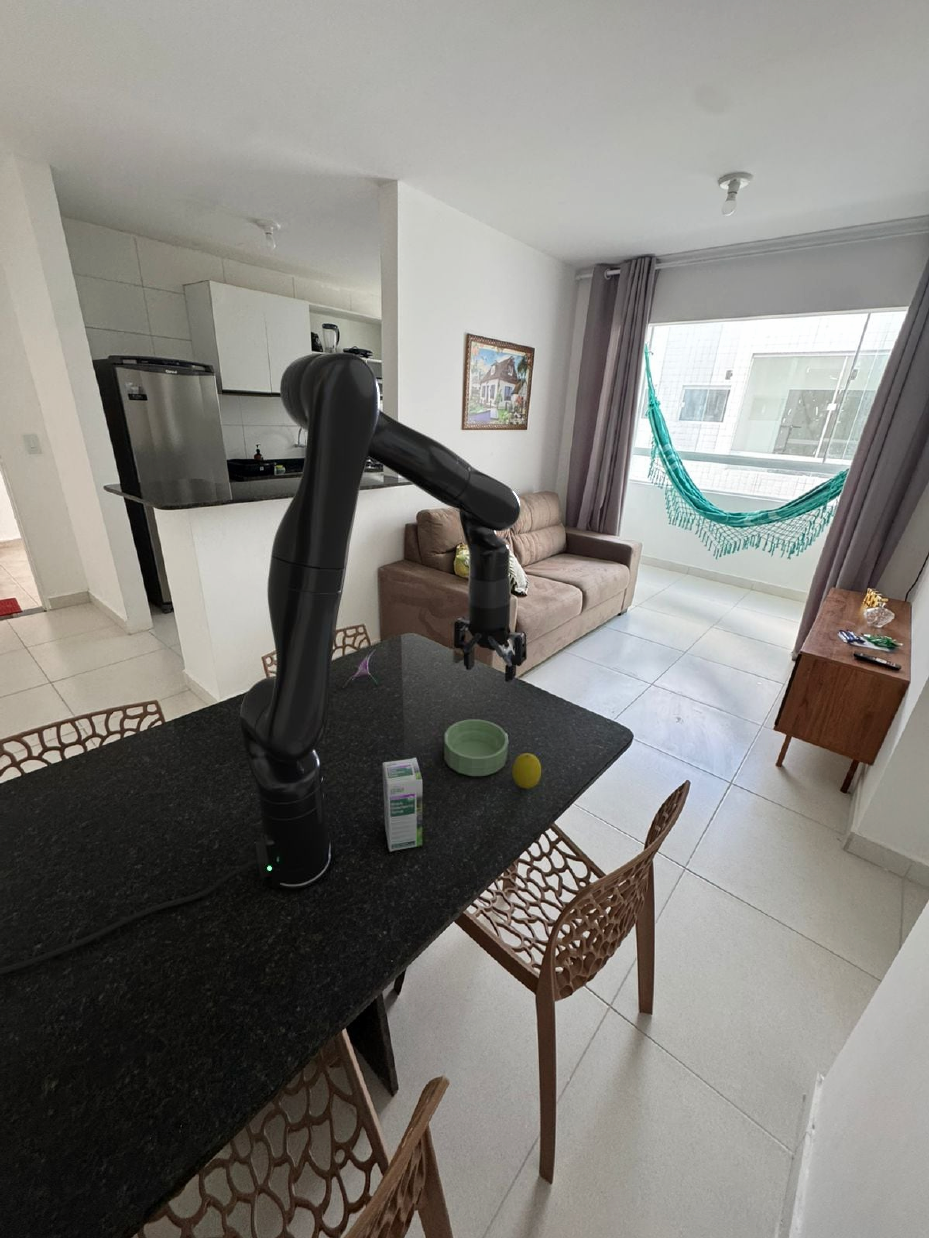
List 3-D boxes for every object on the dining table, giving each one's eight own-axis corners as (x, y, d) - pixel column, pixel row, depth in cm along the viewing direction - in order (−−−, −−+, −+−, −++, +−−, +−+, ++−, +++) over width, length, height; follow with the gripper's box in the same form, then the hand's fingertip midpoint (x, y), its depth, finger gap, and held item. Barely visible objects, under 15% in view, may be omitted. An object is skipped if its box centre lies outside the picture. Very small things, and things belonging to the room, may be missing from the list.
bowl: (460, 785, 100) (461, 765, 98) (434, 746, 111) (434, 727, 109) (517, 768, 106) (519, 748, 104) (487, 732, 117) (489, 714, 115)
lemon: (538, 779, 103) (542, 746, 100) (539, 798, 98) (543, 765, 95) (511, 776, 103) (514, 744, 100) (510, 795, 98) (513, 762, 95)
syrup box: (388, 852, 85) (386, 784, 79) (384, 826, 90) (382, 760, 84) (422, 846, 87) (423, 779, 81) (416, 820, 92) (416, 755, 86)
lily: (374, 671, 142) (356, 644, 138) (401, 670, 134) (382, 641, 130) (346, 701, 134) (325, 673, 131) (372, 702, 126) (351, 672, 123)
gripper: (444, 597, 91) (447, 673, 99) (516, 614, 85) (514, 694, 92) (465, 582, 97) (467, 655, 105) (534, 597, 91) (531, 674, 98)
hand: (489, 673), depth 98 cm, fingers open, 8 cm apart
